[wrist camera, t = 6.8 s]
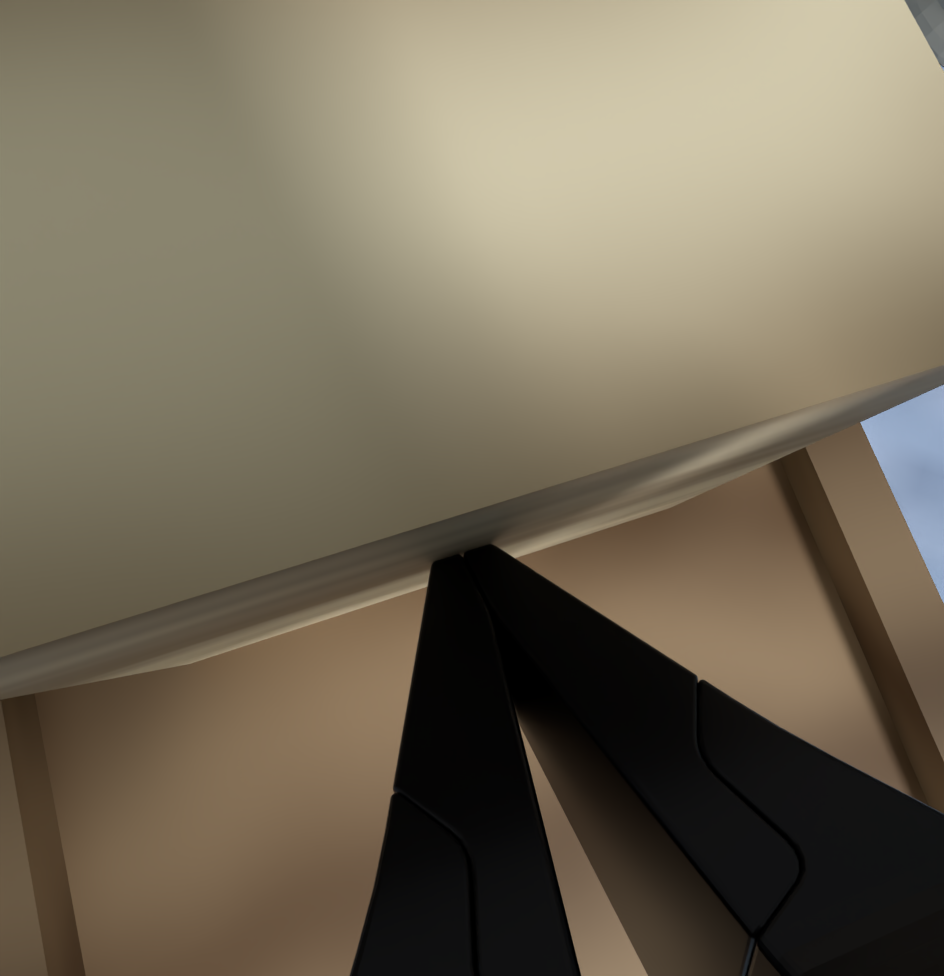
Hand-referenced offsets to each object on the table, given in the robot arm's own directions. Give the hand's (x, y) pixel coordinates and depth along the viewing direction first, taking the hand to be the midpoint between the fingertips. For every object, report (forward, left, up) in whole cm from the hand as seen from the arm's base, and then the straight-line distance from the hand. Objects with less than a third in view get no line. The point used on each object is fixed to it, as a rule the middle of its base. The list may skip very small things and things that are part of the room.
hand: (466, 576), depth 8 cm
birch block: (+4, +4, -5) cm, 8 cm away
